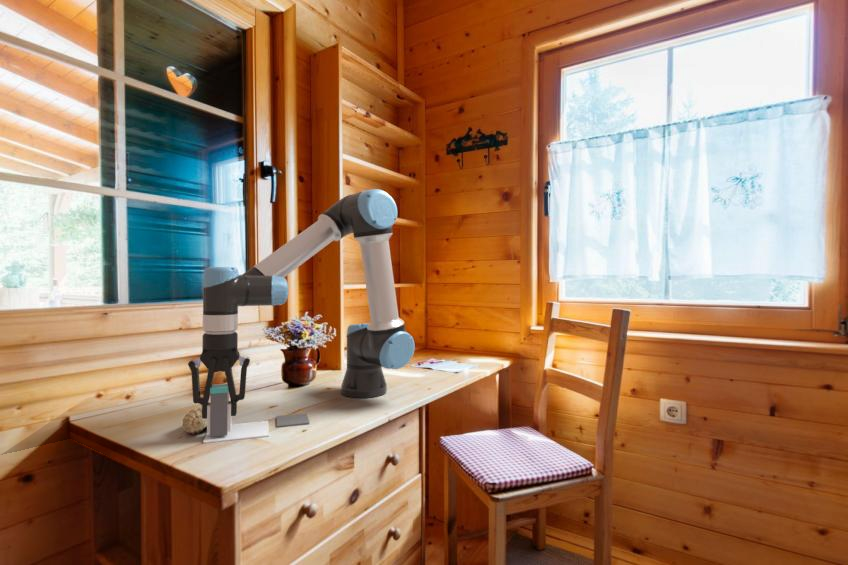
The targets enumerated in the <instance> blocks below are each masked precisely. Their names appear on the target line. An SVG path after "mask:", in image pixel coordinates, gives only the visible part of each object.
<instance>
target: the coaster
mask: <svg viewBox="0 0 848 565" xmlns="http://www.w3.org/2000/svg"><path fill="white" fill-rule="evenodd" d="M275 417H276V428H283V427H285V428H286V427H292V426H293V427H294V426H295V427H297V426H304V425H305V426H306V425H310V420H309V416H308V413H299V414H298V413H297V414H296V413H295V414H285V415H276V416H275Z"/></svg>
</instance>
